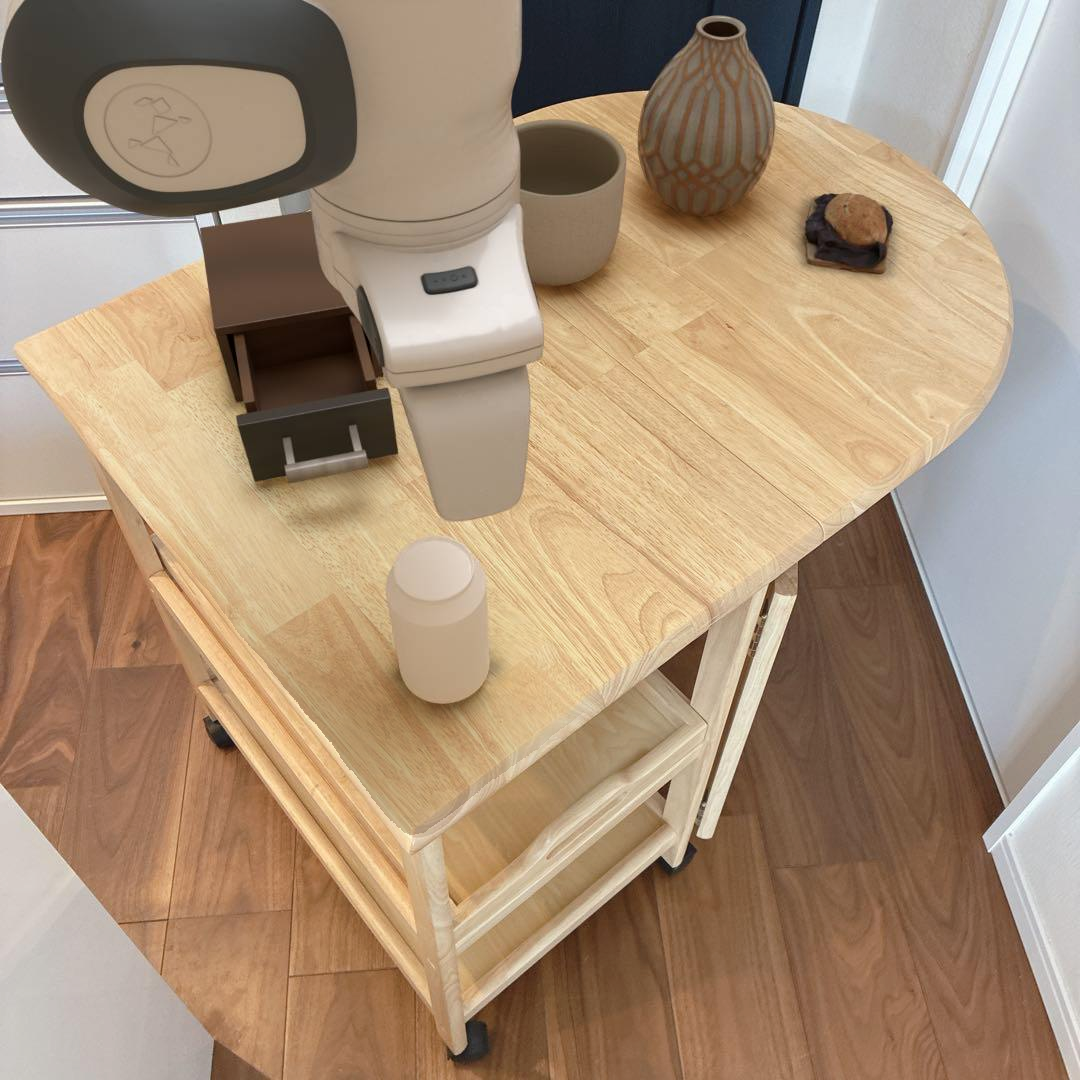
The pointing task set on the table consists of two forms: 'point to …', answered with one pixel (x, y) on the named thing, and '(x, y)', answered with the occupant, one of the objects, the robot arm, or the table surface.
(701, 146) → the vase
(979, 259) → the table surface
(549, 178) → the planter
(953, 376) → the table surface
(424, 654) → the beverage can
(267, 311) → the cabinet
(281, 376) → the drawer
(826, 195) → the bread roll
